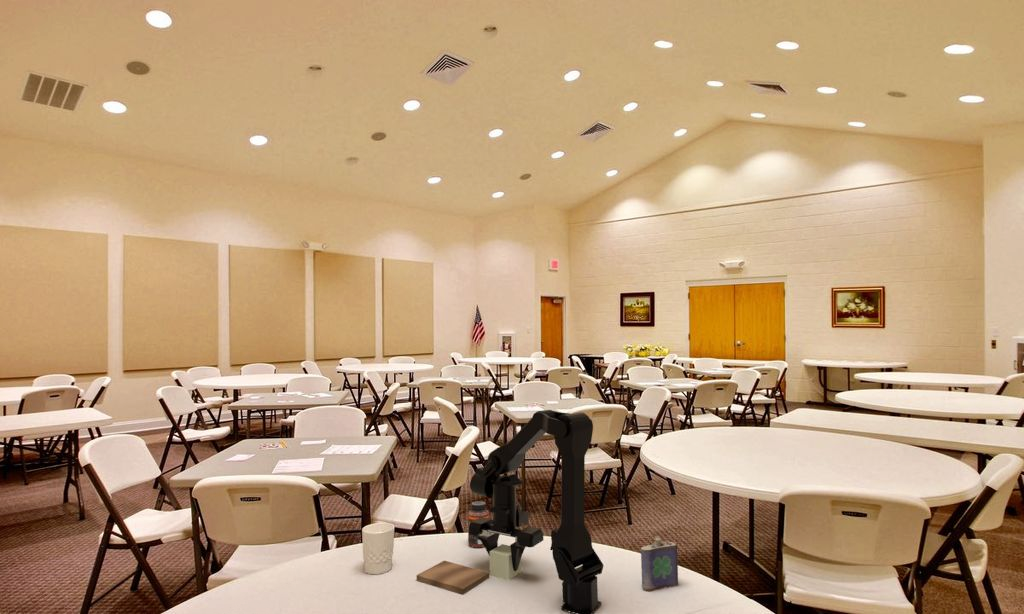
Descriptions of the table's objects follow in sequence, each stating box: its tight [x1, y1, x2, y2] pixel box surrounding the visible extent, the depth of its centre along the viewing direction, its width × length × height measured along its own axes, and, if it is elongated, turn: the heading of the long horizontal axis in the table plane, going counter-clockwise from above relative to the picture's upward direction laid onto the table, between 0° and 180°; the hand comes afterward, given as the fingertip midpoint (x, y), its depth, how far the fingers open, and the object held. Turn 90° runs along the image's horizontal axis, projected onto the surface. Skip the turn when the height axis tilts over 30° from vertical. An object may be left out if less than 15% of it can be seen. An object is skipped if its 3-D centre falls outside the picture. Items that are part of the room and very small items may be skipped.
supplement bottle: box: [467, 500, 490, 549], centre depth 144 cm, size 6×6×11 cm
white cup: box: [361, 522, 395, 575], centre depth 129 cm, size 8×8×10 cm
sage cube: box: [489, 543, 522, 581], centre depth 125 cm, size 6×6×6 cm
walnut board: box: [416, 560, 490, 595], centre depth 122 cm, size 14×10×1 cm
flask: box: [640, 535, 679, 592], centre depth 117 cm, size 9×3×11 cm, turn 109°
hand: (505, 568), depth 125 cm, fingers closed on sage cube, 5 cm apart
